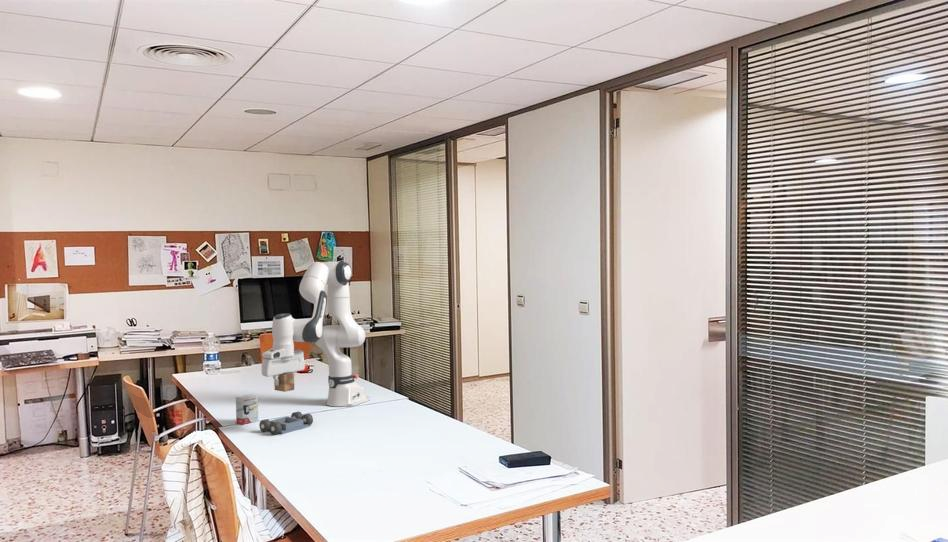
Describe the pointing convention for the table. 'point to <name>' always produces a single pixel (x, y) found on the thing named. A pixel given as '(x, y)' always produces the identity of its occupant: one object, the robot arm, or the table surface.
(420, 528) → the table surface
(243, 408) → the ink box
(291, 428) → the chassis
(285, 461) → the table surface
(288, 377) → the brown box
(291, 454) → the table surface
